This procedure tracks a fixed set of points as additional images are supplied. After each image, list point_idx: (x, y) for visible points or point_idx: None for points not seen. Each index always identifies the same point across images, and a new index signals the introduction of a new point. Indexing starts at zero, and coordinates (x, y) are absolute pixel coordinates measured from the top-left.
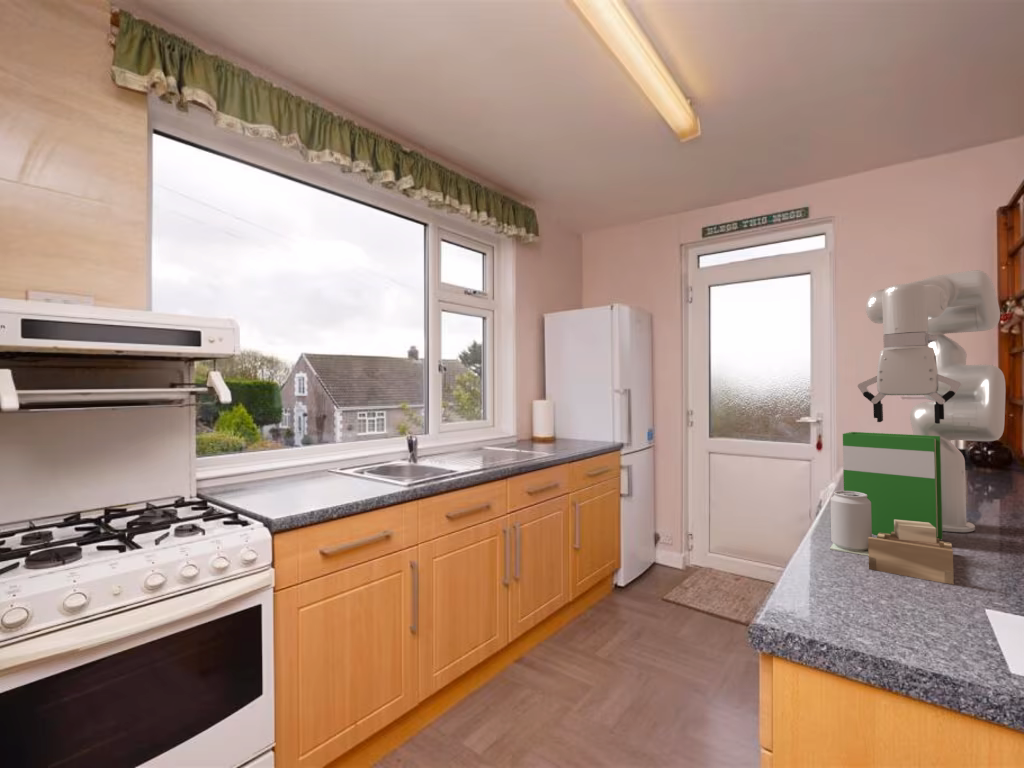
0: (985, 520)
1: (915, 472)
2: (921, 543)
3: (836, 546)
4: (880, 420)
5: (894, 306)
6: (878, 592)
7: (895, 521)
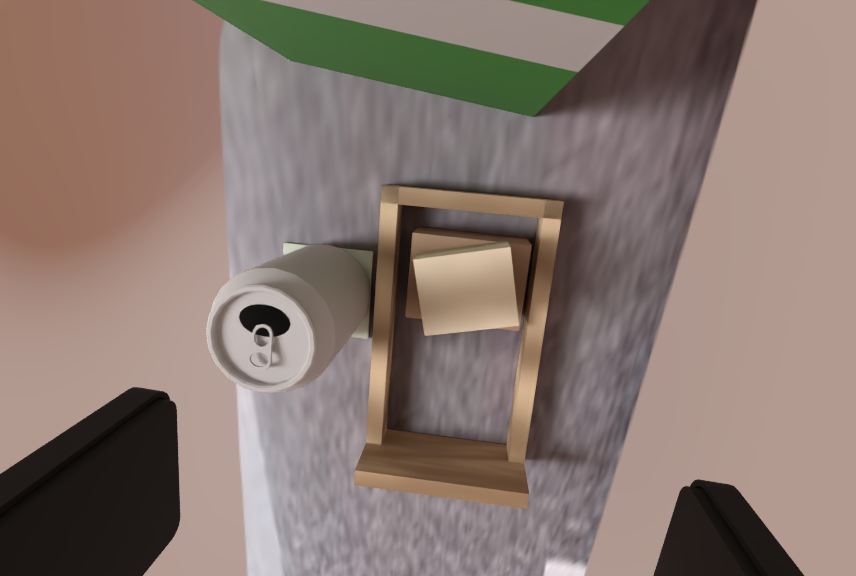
0: None
1: (494, 45)
2: None
3: None
4: (165, 540)
5: None
6: (391, 564)
7: (416, 282)
